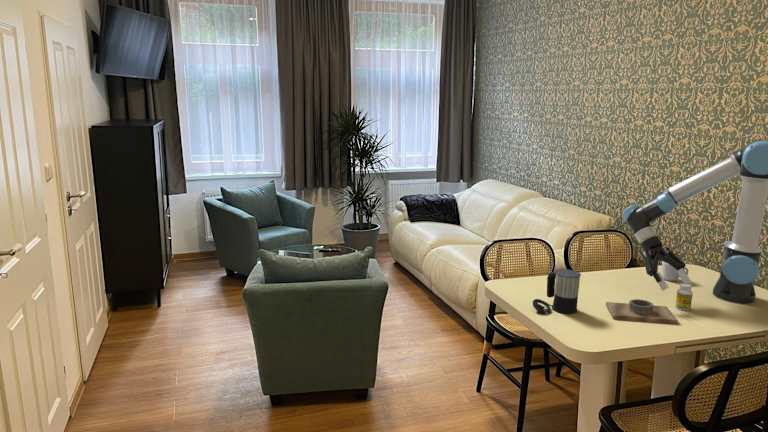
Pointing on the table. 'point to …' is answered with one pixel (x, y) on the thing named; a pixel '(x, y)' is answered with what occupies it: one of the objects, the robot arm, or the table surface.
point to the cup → (670, 272)
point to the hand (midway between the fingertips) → (677, 286)
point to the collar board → (641, 312)
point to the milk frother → (561, 292)
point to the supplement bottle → (684, 297)
